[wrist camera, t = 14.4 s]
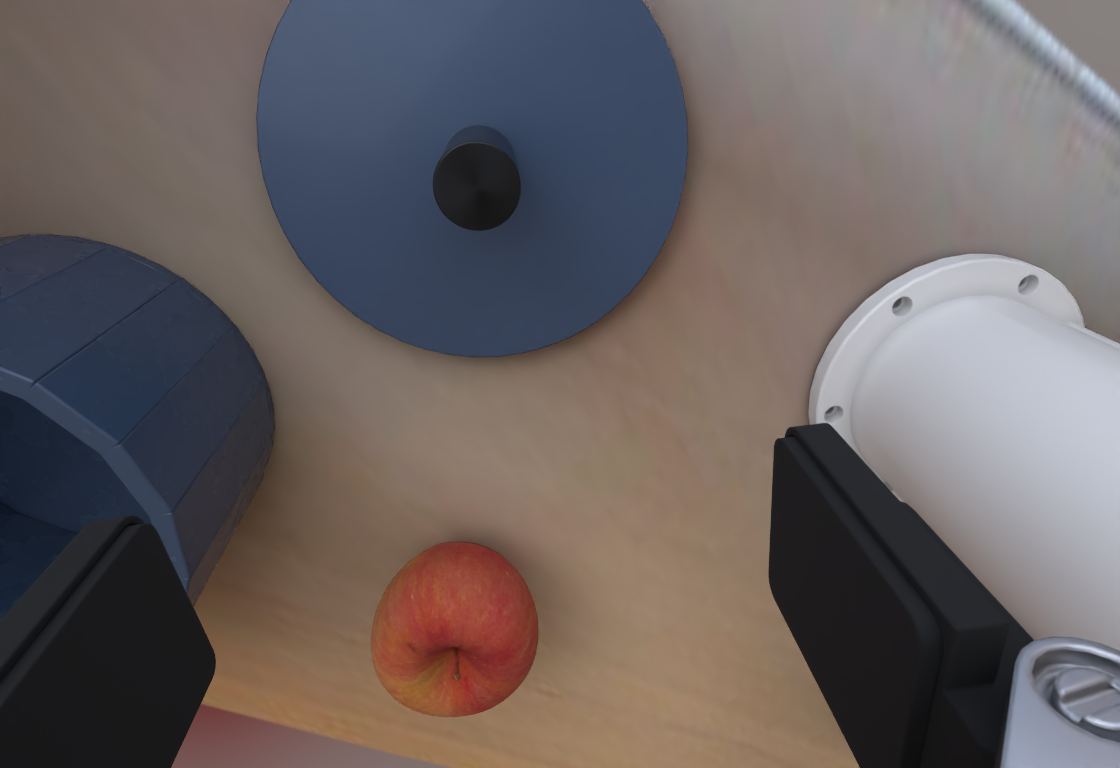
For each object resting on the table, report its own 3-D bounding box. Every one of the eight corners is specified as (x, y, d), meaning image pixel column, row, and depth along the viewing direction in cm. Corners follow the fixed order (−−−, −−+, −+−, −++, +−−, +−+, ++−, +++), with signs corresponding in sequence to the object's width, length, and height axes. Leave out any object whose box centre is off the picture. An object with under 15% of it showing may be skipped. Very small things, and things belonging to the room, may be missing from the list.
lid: (619, -162, 21) (663, -237, 16) (717, 278, 28) (772, 331, 23) (178, 7, 22) (75, -9, 17) (378, 393, 29) (352, 471, 23)
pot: (106, 103, 23) (-118, 131, 15) (358, 527, 32) (311, 696, 23) (-256, 241, 24) (-666, 341, 15) (88, 616, 33) (-53, 811, 24)
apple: (388, 622, 35) (362, 768, 28) (383, 507, 32) (351, 639, 24) (528, 619, 36) (538, 761, 28) (537, 508, 32) (550, 636, 25)
